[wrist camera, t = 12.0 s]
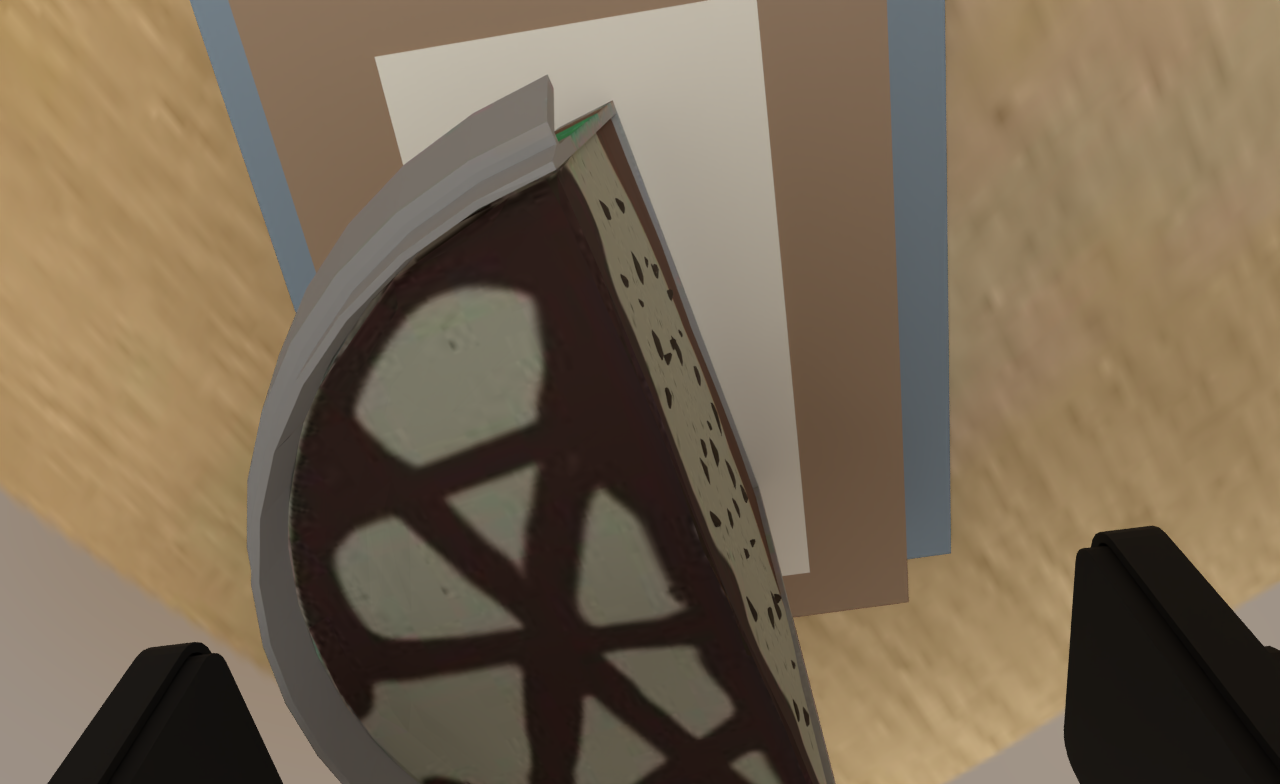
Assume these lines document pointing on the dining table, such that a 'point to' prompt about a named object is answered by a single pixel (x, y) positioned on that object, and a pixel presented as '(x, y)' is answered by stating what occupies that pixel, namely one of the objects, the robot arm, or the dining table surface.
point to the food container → (519, 490)
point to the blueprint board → (683, 210)
